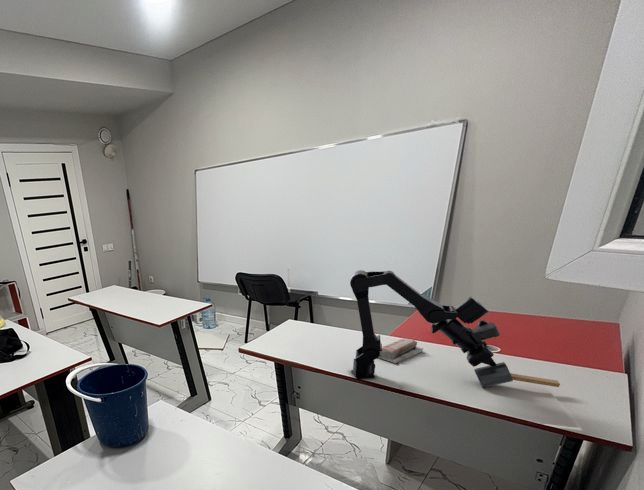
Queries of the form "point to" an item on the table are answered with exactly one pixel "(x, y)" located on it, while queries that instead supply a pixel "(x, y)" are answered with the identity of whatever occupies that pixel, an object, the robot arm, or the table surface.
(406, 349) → the packaged product
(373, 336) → the robot arm
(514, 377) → the wooden stick
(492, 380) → the grey cylinder
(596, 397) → the table surface
